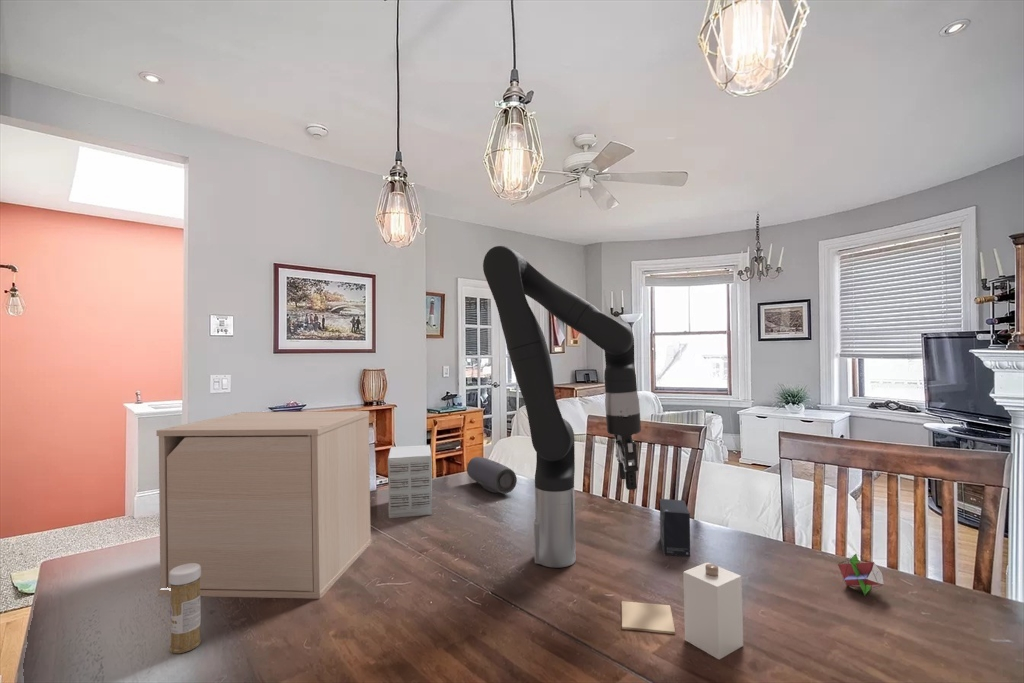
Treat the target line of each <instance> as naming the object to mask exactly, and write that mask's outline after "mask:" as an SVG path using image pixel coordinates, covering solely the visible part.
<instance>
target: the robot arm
mask: <svg viewBox="0 0 1024 683" xmlns="http://www.w3.org/2000/svg"><path fill="white" fill-rule="evenodd" d="M482 262H483V263H482V269H483V274H484V276H485V279H486V282H487V284H488V287H489V289H490V292H491V294H492V297H493V299H494V302H495V306H496V308H497V312H498V316H499V319H500V320H499V321H500V324H501V329H502V333H503V337H504V339H505V344H506V349H507V352H508V356H509V358H510V363H511V366H512V369H513V372H514V376H515V379H516V383H517V384H518V385H517V386H518V389H519V391H520V395H521V397H522V399H523V403H524V406H525V410H526V414H527V419H528V425H529V432H530V438H531V439H530V440H531V444H532V447H533V448H534V450H535V452H536V453H535V454H536V463H535V464H536V465H535V466H536V467H535V474H534V497H535V498H534V499H535V502H534V504H535V519H534V521H533V536H534V539H533V543H534V544H533V545H534V546H533V547H534V551H533V552H534V564H538V565H540V566H541V565H542V566H544V567H547V568H556V569H558V568H565V567H569V566H572V565H574V564H575V563H576V561H577V557H576V556H577V555H576V553H577V551H576V514H575V512H576V510H575V509H576V508H575V507H576V506H575V503H576V502H575V500H576V499H575V471H576V470H575V469H576V467H575V466H576V465H575V464H576V463H575V462H576V461H575V459H576V458H575V456H576V454H575V453H576V452H575V449H576V448H575V432H574V430H573V429H574V428H573V426H572V425H571V423H569V421H567V419H565V418H563V416H562V413H561V410H560V406H559V405H558V401H557V398H556V393H555V392H556V391H555V384H554V373H553V366H552V359H551V354H550V351H549V347H548V344H547V341H546V337H545V335H544V332H543V330H542V327H541V325H540V324H539V321H538V320H537V318H536V316H535V314H534V312H533V310H532V308H531V307H530V305H529V302H528V300H527V297H529V298H531V299H532V300H534V301H535V302H536V303H537V304H540V305H541V306H542V307H543V308H544V309H545V310H547V312H549V313H550V314H552V315H553V316H554V317H555V318H556V319H558V320H559V321H561V322H562V323H563V324H565V325H566V326H568V327H570V328H571V329H573V330H575V331H576V332H577V333H580V334H582V335H584V336H585V338H587V339H588V340H590V341H591V342H592V343H593V344H595V346H598V347H599V348H600V349H602V350H603V351H604V358H605V361H604V362H605V369H604V376H603V377H604V378H603V379H604V388H605V390H604V391H605V392H604V394H605V397H604V406H605V419H606V420H605V421H606V431H607V433H608V434H609V435H613V436H614V445H615V457H616V461H617V463H618V473H619V478H620V479H621V480H624V481H625V489H626V490H627V491H630V490H633V491H634V490H637V489H638V486H637V472H638V471H639V464H638V453H637V452H638V451H637V443H636V442H635V441H634V440H633V438H632V436H633V435H637V434H640V433H641V431H642V423H641V412H640V411H641V410H640V399H639V395H638V386H637V385H638V384H637V376H636V375H637V374H636V369H635V338H634V337H635V336H634V334H633V331H632V330H631V328H630V327H628V325H625V324H623V323H621V322H619V321H617V320H616V319H614V318H612V317H610V315H608V314H606V313H604V312H602V311H601V310H600V309H599V308H597V307H596V306H595V305H594V304H592V303H590V302H589V301H587V300H586V299H584V298H583V297H581V296H579V295H577V294H576V293H575V292H572V291H571V290H569V289H567V288H566V287H564V286H562V285H560V284H558V283H556V282H555V281H553V280H551V279H550V278H549V277H547V276H546V275H544V273H542V272H541V271H539V270H538V269H537V268H536V267H534V266H533V265H532V264H531V263H530V262H529V260H527V259H526V258H525V257H524V255H522V253H520V252H519V251H517V250H515V249H513V248H511V247H508V246H505V245H504V246H503V245H496V246H493V247H492V248H490V249H489V250H487V252H486V254H485V255H484V258H483V261H482ZM526 296H527V297H526ZM630 463H631V464H632V465H631V464H630Z"/></svg>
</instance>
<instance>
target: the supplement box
mask: <svg viewBox="0 0 1024 683" xmlns="http://www.w3.org/2000/svg"><path fill="white" fill-rule="evenodd" d="M432 463H433V460H432V449H431V445H430V444H423V445H418V444H417V445H405V446H404V445H403V446H391V447H390V448H389V453H388V457H387V473H388V474H387V475H388V476H387V478H388V479H387V480H388V518H389V519H394V518H406V517H420V516H432V515H433V510H432V508H433V507H432V506H433V505H432V504H433V496H432V495H433V493H432V492H433V491H432V489H433V483H432V482H433V474H432V472H433V470H432V468H433V467H432Z"/></svg>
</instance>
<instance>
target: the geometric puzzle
mask: <svg viewBox="0 0 1024 683" xmlns="http://www.w3.org/2000/svg"><path fill="white" fill-rule="evenodd" d="M862 557H863V556H862V555H859V554H857V553H854V554H853V555H851V557H848V558H847V559H845V560H844V563H843V561H842V562H840V563H838V564H837V565H838V569H839V570H840V573H841V577H842V580H843V581H844V583H845V585H846V587H849V588H850V587H851V588H855V591H856V592H858V593H859V594H863V596H866V595H867V594H869V591H870V590H872V589H874V588H875V590H877V589H878V588H880V587H882V586H884V585H885V583H884V577H883V576H884V575H883V572H882V571H881V570H880V569H879V567H878V565H877V564H876V563H875V562H874V561H867V560H864V557H863V558H862ZM859 558H862V560H864V562H861V561H860V560H859ZM845 562H847V563H845ZM857 586H859V587H860V588H861V590H862V592H863V593H861V591H859V590H858V589H857ZM872 586H874V587H872ZM872 592H873V590H872V591H870V593H872Z"/></svg>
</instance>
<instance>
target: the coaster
mask: <svg viewBox="0 0 1024 683" xmlns="http://www.w3.org/2000/svg"><path fill="white" fill-rule="evenodd" d="M621 630H627V631H628V630H630V631H638V632H639V631H640V632H650V633H651V632H652V633H660V634H669V635H670V634H671V635H676V629H675V624H674V619H673V613H672V609H671V605H669V604H660V603H648V602H647V603H646V602H635V601H625V600H622V601H621Z"/></svg>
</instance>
